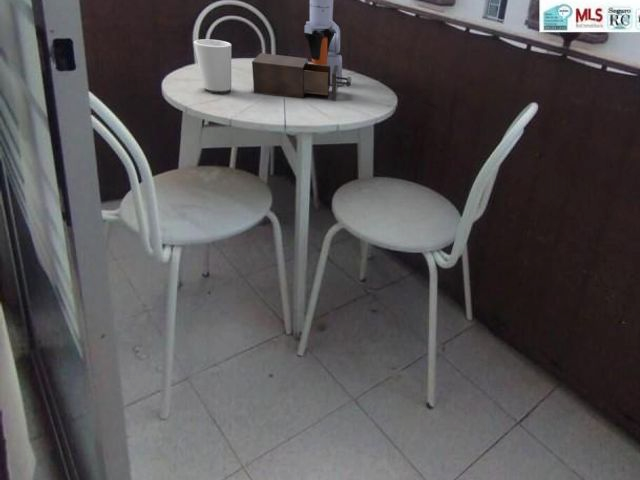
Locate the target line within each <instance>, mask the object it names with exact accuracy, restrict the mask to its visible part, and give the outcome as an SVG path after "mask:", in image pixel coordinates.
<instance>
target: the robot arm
mask: <svg viewBox="0 0 640 480" xmlns="http://www.w3.org/2000/svg"><path fill="white" fill-rule="evenodd" d="M334 1H335V0H309V20H307V21H305V25H304V31H303V33H304V34H303V35H304V37H305V40H306V41H307V44H308V48H309V51H310V56H311V60H312V59H316V60H319V58H320V49H321V43H322V40H323V37H324V36H325V37H327V64H326V65H327V66H330V86H332V73H333V70H334V66H335V65H337V66H339V68H338V77H343V57H342V55H341V54H339V53H340V52H341V28H340V27H339V25H338V24H336V22H335V21H334V20H333V18H334V17H333V16H334ZM318 32H323V35H320V34H319V33H318ZM338 81H341V82H343V80H341V79H338ZM339 86H341V87H342V86H343V84H338V87H339Z"/></svg>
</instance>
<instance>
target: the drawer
mask: <svg viewBox="0 0 640 480" xmlns="http://www.w3.org/2000/svg"><path fill="white" fill-rule="evenodd" d="M338 68H339V66H337V65H335V66H334V70H333V73H332V85H330V66H327V65H318V64H314V63H310V62H308V63H307V64H306V65H305V67H304V69H303V87H304V93H305V94H310V95H311V94H312V95H319V96H320V95H321V96H329V92H330V89H331V98H334V99H335V98H337V95H338V89H339V85H338V84H342V85H346V86H347V87H350V86H351V84H352V77H351V76H347V77H346V76H345V77H343V76H342V77H338ZM338 79H341V80H342V82H341V81H338Z"/></svg>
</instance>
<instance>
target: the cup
mask: <svg viewBox="0 0 640 480" xmlns="http://www.w3.org/2000/svg"><path fill="white" fill-rule="evenodd" d="M193 45H194V50H195V54H196V60H197V63H198V67H199V68H198V69H199V72H200V77H201V81H202V85H203V89H204V91H206V92H209V93H210V94H216V93H217V92H219V93H220V94H222V95H225V94H227V93H230V92H231V91H232V43H230V42H228V41H225V40H219V39H210V38H209V39H208V38H207V39H205V38H204V39H196V40H194V41H193Z"/></svg>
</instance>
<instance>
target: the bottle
mask: <svg viewBox="0 0 640 480" xmlns="http://www.w3.org/2000/svg"><path fill="white" fill-rule="evenodd" d="M318 33H319V34H320V35H323V32H318ZM311 64H318V65H326V64H327V37H325V36H324V37H323V40H322V43H321V49H320V58H319V60H316V59H312V58H311Z"/></svg>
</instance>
